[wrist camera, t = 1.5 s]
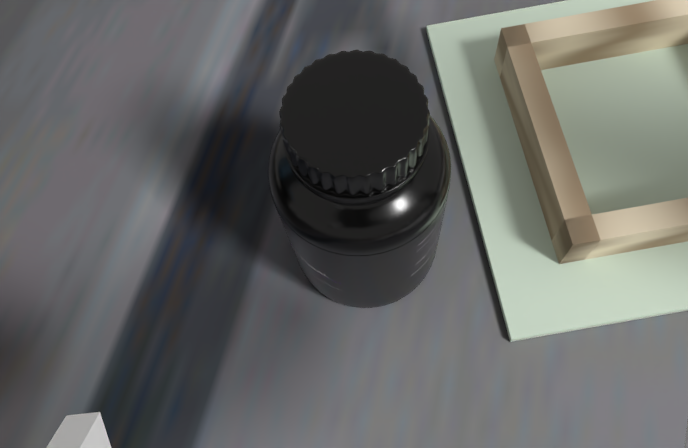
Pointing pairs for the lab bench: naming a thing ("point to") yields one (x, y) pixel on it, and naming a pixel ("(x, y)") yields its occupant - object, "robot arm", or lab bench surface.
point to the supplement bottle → (360, 177)
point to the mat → (591, 165)
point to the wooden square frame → (547, 136)
